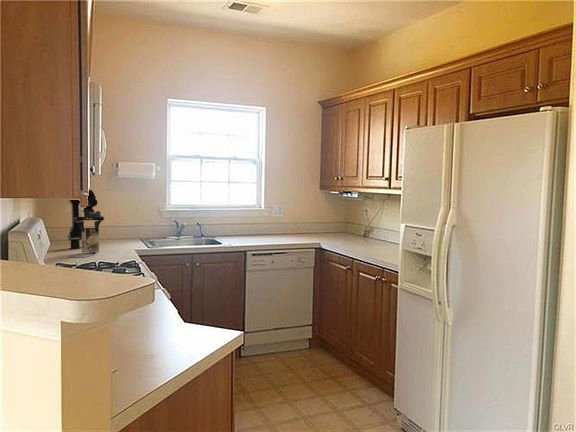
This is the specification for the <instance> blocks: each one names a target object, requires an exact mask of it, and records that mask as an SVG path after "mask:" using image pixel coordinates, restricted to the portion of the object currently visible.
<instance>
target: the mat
mask: <svg viewBox="0 0 576 432" xmlns="http://www.w3.org/2000/svg"><path fill="white" fill-rule="evenodd" d="M95 255H96V254H95V253H75V254H72V255H68V256H67V258H74V259H75V258H78V259H79V258H83V259H85V258H89V257H93V256H95Z"/></svg>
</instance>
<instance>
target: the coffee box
mask: <svg viewBox="0 0 576 432" xmlns="http://www.w3.org/2000/svg"><path fill="white" fill-rule="evenodd" d="M81 247H82V248H81V253H99V252H100V228H99V227H98V230H97V232H96V230H95V227H84V232H82V240H81Z"/></svg>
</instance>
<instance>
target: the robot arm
mask: <svg viewBox="0 0 576 432" xmlns="http://www.w3.org/2000/svg"><path fill="white" fill-rule="evenodd" d="M88 190H89V196H88V206H87V207H86V208H83V207H82V209H83V210H82V213H83V216H80V204H81V202H80V201H79V200H69V199H68V202H69V203H70V205H71V227H70V228H69V233H68V235H67V240H68V241H70V247H69V248H68V249H69V250H71V249H72V250H78V249H82V246H81V241H82V232H84V228H85V226H84V223H85V221H93V223H94V228H95V230H96V232H97V230H98V228H99V226H100V224H101V223H102V222H103V221H105V217H104V216H103V215H102V214H101V211H100V210H97V211H95V209H94V208H95V207H96V206H97V205H98V200H97V198H96V195H95V193H94V191H93V190H92V189H88ZM101 215H102V216H101Z"/></svg>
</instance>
